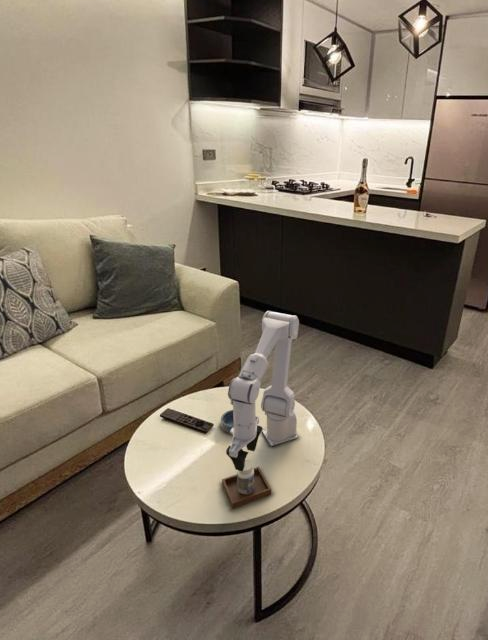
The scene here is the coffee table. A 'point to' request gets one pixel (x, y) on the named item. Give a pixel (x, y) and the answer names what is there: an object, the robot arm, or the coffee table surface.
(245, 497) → the tray
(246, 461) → the pill bottle
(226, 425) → the bowl
